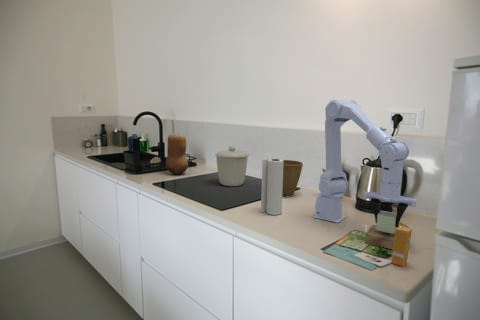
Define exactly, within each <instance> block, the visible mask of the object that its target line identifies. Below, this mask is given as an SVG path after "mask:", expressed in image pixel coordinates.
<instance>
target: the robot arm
mask: <svg viewBox="0 0 480 320" xmlns="http://www.w3.org/2000/svg"><path fill="white" fill-rule="evenodd" d="M324 111H325V120H324V121H325V122H324V133H325V134H324V138H325V141H324V142H325V171H324V172H323V173H322V174H320V179H319V180H320V181H319V184H318V189H319V192H320V193H318V194H317V196H316V198H315V209H314V216H313V218H315V219H319V220H323V221H329V222H333V223H337V224H339V223H340V222H341V221H342V220H344V219H345V218H346V215H343V202H344V196H345V195H346V193H347V192H348V190H349V182H348V179H347V174H346V172H344V171H343V169H342V141H341V140H342V138H341V135H342V133H341V128H342V126H343V125H344V124H346V123H347V122H349V121H350V120H352V121H353V122H354V123H355V124H356V125H357V126H358V127H359V128H361V130H363V131H364V132H365V133H366V135H365V136H366V137H365V138H366V140H368V141H369V143H370V144H371V145H373V147H374V148H375V149H376V150H377V151H378V156H379V158H380V161H381V162H380V163H381V164H380V165H381V174H380V175H381V176H380V187H379V192H377V191H375V192H374V191H367V190H366V191H365V192H363V199H366V200H367V199H368V200H369V199H370V201H369V204H370V206H371V208H372V211H373V214H374V220H375V224H377V215H378V213H379V212H380V211H381V206H382V202H385V203H386V202H387V203H392V204H393V203H394V204H397V206H396V213H397V218H396V223H395V227H397V228H398V226H399V222H401V219H402V217H403V215H404V213H405V212H406V210H407V208H408V207H409V206H410V207H413V208H416V207H417V202H418V201H417V200H418V199H417V198H412V197H407V196H402V195H401V190H402V184H403V183H402V181H403V172H404V171H403V170H404V161H405V160H406V159H407V158H408V157H409V154H410V150H409V147H408V146H407V145H408V144H406V143H405V142H404V141H398V140H397V138H396V137H395V136H394V137H393V136H392V135H391V134H390V133H389V132H388V131H387V127H385V126H384V125H383V126H381V125H375V123H374V122H373V121H372V120H371V119H370V118H369V117H368V116H367V114H366V113H365V112H364V111H363V110H362V108H361V105H360V104H358V102H356V101H355V100H338V99H331V100H330V101H329V102H328V104H326V106H325V110H324Z"/></svg>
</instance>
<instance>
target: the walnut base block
mask: <svg viewBox="0 0 480 320" xmlns="http://www.w3.org/2000/svg"><path fill="white" fill-rule="evenodd" d="M376 226H377V224H372V225H371V227H370V228H369V229H368V230H367V231H366V232H365V234H364V244H367V245H372V246H376V247H379V246H380V248H383V247H384V248H383V249H387V248H388V249H389V250H391V249H392V250H391V251H393V246H394V239H395V233H394V234H392V233H388V232H383V231H378V230H376ZM395 232H396V231H395Z"/></svg>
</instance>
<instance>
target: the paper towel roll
mask: <svg viewBox="0 0 480 320" xmlns="http://www.w3.org/2000/svg"><path fill="white" fill-rule="evenodd" d="M283 160H284V159H279V158H276V159H275V158H272V159H271V158H270V159H262V161H261V163H262V164H261V165H262V167H261V195H260V196H261V197H260V199H261V200H260V201H261V202H260V204H261V205H260V212H261V213H263V212H266V214H267V215H271V216H279V215H282V210H283V196H282V188H283V162H284V161H283Z"/></svg>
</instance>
